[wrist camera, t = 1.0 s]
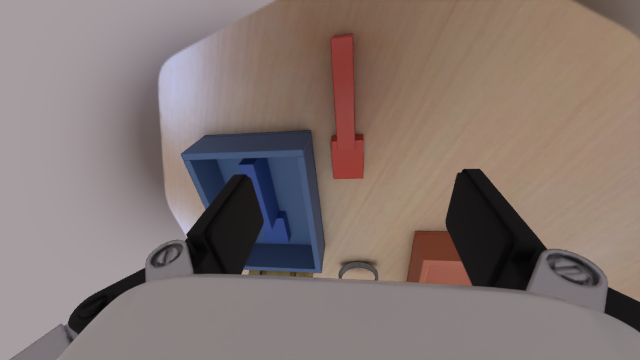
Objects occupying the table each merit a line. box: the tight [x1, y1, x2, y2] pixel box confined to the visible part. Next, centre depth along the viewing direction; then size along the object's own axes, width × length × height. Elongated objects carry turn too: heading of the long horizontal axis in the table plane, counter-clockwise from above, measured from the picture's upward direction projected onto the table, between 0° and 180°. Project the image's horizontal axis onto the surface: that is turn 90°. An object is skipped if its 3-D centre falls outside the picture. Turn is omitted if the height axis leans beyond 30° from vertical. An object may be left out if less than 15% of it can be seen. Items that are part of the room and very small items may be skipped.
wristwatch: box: [339, 262, 378, 281], centre depth 38 cm, size 6×3×5 cm, turn 100°
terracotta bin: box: [407, 231, 472, 286], centre depth 37 cm, size 20×14×5 cm
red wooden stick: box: [330, 34, 363, 179], centre depth 25 cm, size 15×4×4 cm, turn 6°
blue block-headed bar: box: [238, 158, 291, 243], centre depth 32 cm, size 15×4×4 cm, turn 6°
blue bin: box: [181, 131, 325, 273], centre depth 32 cm, size 20×14×5 cm
